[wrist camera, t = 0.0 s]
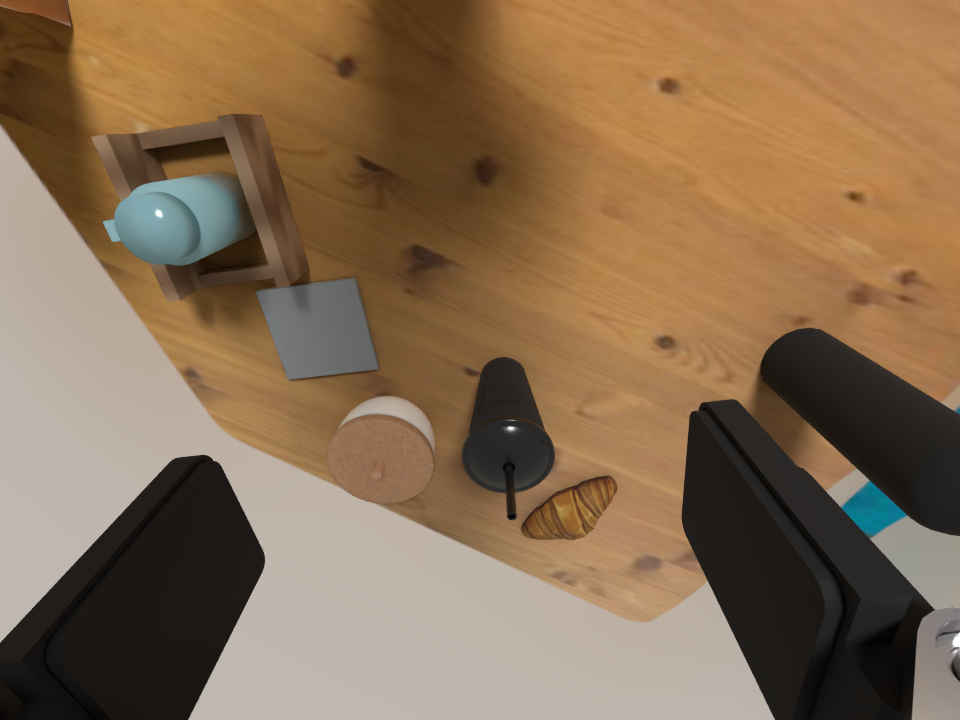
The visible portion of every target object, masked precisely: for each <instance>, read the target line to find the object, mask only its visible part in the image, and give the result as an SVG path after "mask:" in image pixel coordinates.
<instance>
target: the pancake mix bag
mask: <svg viewBox="0 0 960 720" xmlns="http://www.w3.org/2000/svg"><path fill="white" fill-rule="evenodd" d="M0 7H4V8H8V9H12V10H16V11H19V12H25V13H32V14H37V15H40V16H43V17H46V18H49V19H52V20H55V21H57V22H60V23H62V24H65V25H68V26H70V27H71V22H70V16H69V9H68V2H67V0H0Z"/></svg>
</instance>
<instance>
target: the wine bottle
mask: <svg viewBox="0 0 960 720" xmlns="http://www.w3.org/2000/svg"><path fill="white" fill-rule="evenodd" d="M761 374H762V377H763V380H764V381H765V382H766V383H767V385H768V386H769V387H770V388H771V389H772V390H773V391H775V392H776V393H777V394H778V395H779V396H780V397H781V398H782V399H783V400H784V401H785V402H786V403H787V404H789V405H790V406H791V407H792V408H793V409H794V410H795V411H796V412H797V413H798V414H799V415H800V416H801V417H802V418H804V419H805V420H806V421H807V422H808V423H809V424H810V425H811V426H812V427H813V428H814V429H815V430H816V431H817V432H819V433H820V434H821V435H822V436H823V437H824V438H825V439H826V440H827V441H828V442H829V443H830V444H831V445H833V446H834V447H835V448H836V449H837V450H838V451H839V452H840V453H841V454H842V455H843V456H844V457H845V458H846V459H848V460H849V461H850V462H851V463H852V464H853V465H854V466H855V467H856V468H857V469H858V470H860V472H862V473H863V474H864V475H865V476H866V477H867V478H868V479H869V480H870V481H871V482H872V483H873V484H874V485H875V486H877V487H878V488H879V489H880V490H881V491H882V492H883V493H884V494H885V495H886V496H887V497H888V498H889V499H890V500H892V501H893V502H894V503H895V504H896V505H897V506H898V507H899V508H900V509H901V510H902V511H903V512H904V513H906V514H907V515H908V516H909V517H910V518H911V519H913V520H914V521H916V522H917V523H919V524H920V525H922V526H924V527H926V528H929V529H931V530H934V531H938V532H941V533H946V534H949V535H956V536H960V414H958V413H956V412H955V411H953V410H951V409H950V408H948V407H946V406H945V405H943V404H942V403H940V402H938V401H937V400H935V399H934V398H932V397H930V396H929V395H927V394H925V393H924V392H922V391H921V390H919V389H917V388H916V387H914V386H912V385H911V384H909V383H908V382H906V381H904V380H903V379H901V378H899V377H898V376H896V375H895V374H893V373H891V372H890V371H888V370H886V369H885V368H883V367H882V366H880V365H878V364H877V363H875V362H873V361H872V360H870V359H869V358H867V357H865V356H864V355H862V354H860V353H859V352H857V351H856V350H854V349H852V348H851V347H849V346H847V345H846V344H844V343H843V342H841V341H839V340H838V339H836V338H834V337H833V336H831V335H830V334H828V333H826V332H824V331H822V330H820V329H814V328H805V329H798V330H795V331H792V332H790V333H787V334H785V335H784V336H782V337H781V338H779V339H778V340H777V341H775V342H774V343H773V344H772V345H771V347H770V348H769V349H768V350H767V351H766V353H765V355H764V358H763V360H762V363H761Z"/></svg>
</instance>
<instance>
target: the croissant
mask: <svg viewBox="0 0 960 720" xmlns="http://www.w3.org/2000/svg"><path fill="white" fill-rule="evenodd" d="M616 491H617V484H616V482H615V480H614V479H613V478H612V477H610V476H603V477H597V478H593V479H590V480H587V481H583V482H581V483H580V484H578V485H577V486H573V487H569V488H567V489H564V490H561V491H558V492H556V493H555V494H554V495H553V496H552V497H550V498H549V499H548V500H547V501H546V502H545V503H544V504H543V505H541V506H539V507H537V508H536V509H535V510H534V511H533V512H532V513H531V514H530V515H529V516H528V518H527V519H526V521H525V522H524V523H523V526H522V529H523V532H524V533H525V535H526V536H527V537H529V538H534V539H540V540H543V539H561V538H564V539H568V540H575V539H578V538H582V537H585V536H586V535H587V534H588V533H589V532H591V531H592V530H593V529H594V527H595V525H596V522H597V520H598V519H599V517H600V516H601V515H602V514H603V512H604V511H605V510H606V508H607V507H608V505H609V504H610V503H611V501H612V499H613V497H614V495H615V493H616Z"/></svg>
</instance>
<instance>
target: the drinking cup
mask: <svg viewBox="0 0 960 720" xmlns="http://www.w3.org/2000/svg"><path fill="white" fill-rule="evenodd" d="M554 459H555V451H554V446H553V443H552V440H551V438H550V437H549V435H548V434H547V432H546V431H545V429H544V426H543V423H542V420H541V417H540V414H539V412H538V409H537V406H536V403H535V400H534V397H533V394H532V391H531V388H530V385H529V382H528V380H527V377H526V374H525V371H524V369H523V367H522V366H521V364H520V363H518V362H517V361H515V360H513V359H511V358H505V357H502V358H496V359H494V360H492V361H490V362H488V363H487V364H486V365H485V367H484V368H483V370H482V373H481V377H480V382H479V387H478V392H477V397H476V401H475V406H474V411H473V416H472V420H471V425H470V430H469V435H468V437H467V438H466V440H465V442H464V445H463V449H462V463H463V466H464V469H465V471H466V472H467V474H468V475H469V477H470V478H471V479H472V480H473V481H474V482H475V483H477V484H478V485H480V486H481V487H483V488H485V489H488V490H491V491H494V492H499V493H506V505H507V518H508V519H509V520H515V519H516V518H517V513H516V500H515V493H516V492H521V491H525V490H528V489H530V488H532V487H534V486H536V485H538V484H539V483H540V482H542V481H543V480H544V479H545V478H546V477H547V475H548V474H549V472H550V471H551V469H552V467H553V464H554Z"/></svg>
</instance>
